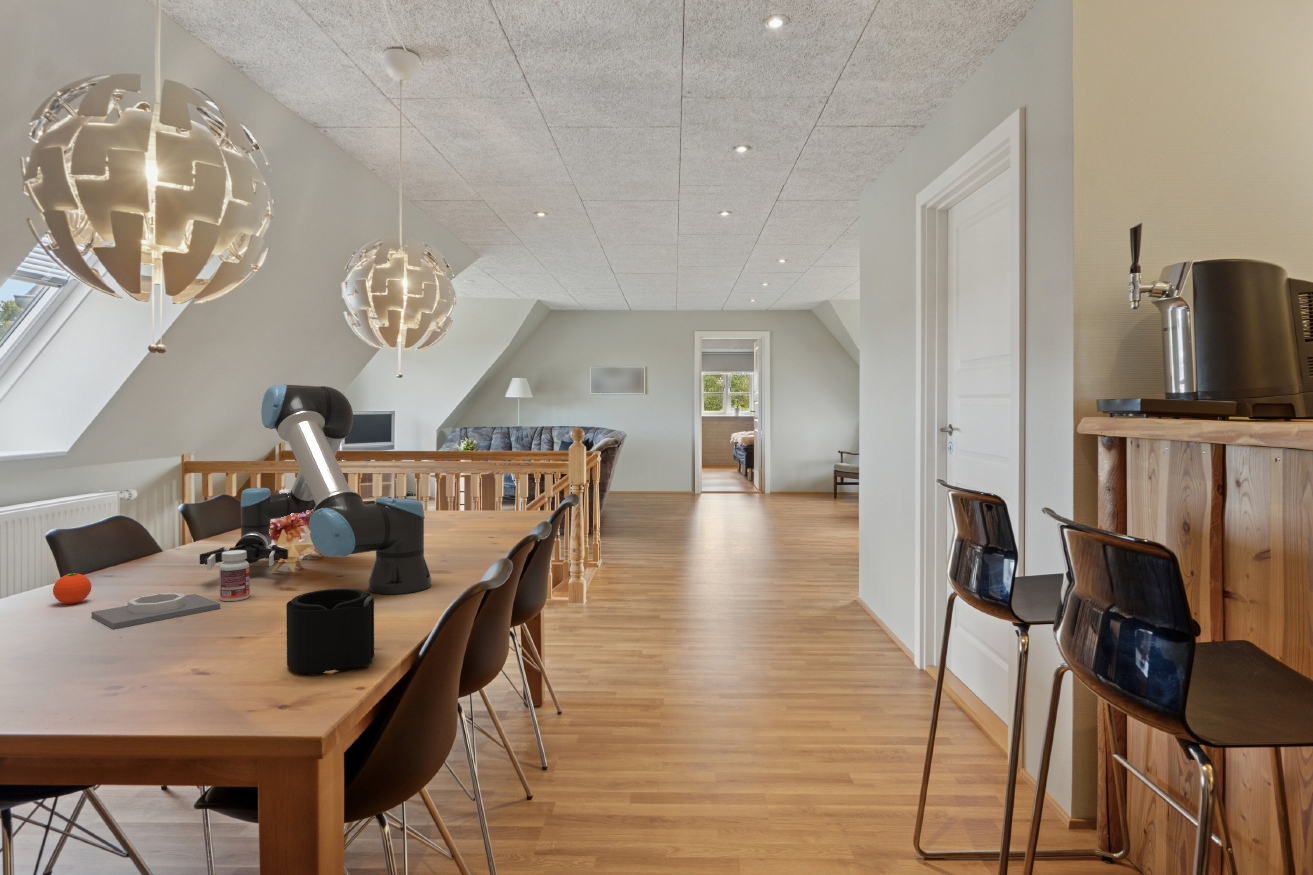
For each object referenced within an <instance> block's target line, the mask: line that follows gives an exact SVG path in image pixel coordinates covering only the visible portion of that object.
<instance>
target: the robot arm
mask: <svg viewBox="0 0 1313 875" xmlns="http://www.w3.org/2000/svg"><path fill="white" fill-rule="evenodd" d="M260 410H261V412H260V414H261V422H262V424H263V425H262V426H264V427H265V428H266V429H269V430H273V429H274V430H276V432H277V434H278V435H277V436H278V437H279V438H280V439H281V440H283V441H285V442H288V444H289V445H290V446H289V447H290V448H291V451H292V453H293V455H294V458H295V460H296V462H297V464H298V467H299V471H298V473H297V475H296V478H295V480H294V483H293V485H292V487H291V490H290V492H282V493H281V492H279V493H272V492H271V490H270V488H268V487H253V488H252V487H251V488H246V489H244V490H242V491H241V496H240V504H239V505H240V520H241V522H240V523H241V524H240V525H241V526H240V539H239V540H238V541H237V542H236V544H235V545H234V546H233V547H230V548H229V549H227V548H225V547H224V546H223V547H220V548H218V549H215V550H210V551H207V552H204V553H201V554H199V565H207V566H206V568H207V569H206V570H207V571H209V570H210V571H211V570H212V569H213V568H214V567H215V565H216V564H217V563H224V561H222V553H223V552H226V551H232V550H245V551H246V552H247V558H246V559H245V561H247V562H248V563H249V564H254V563H256V562H258V561H260V560H264V559H267V560H268V566H269V567H273V565H274V563H275V562H276V561H280V560H281V559H282V560H285V561H286V560H289V549H287V548H284V547H281V546H278V545H277V544H272V541H273V538H272V537H273V536H272V535H271V536H272V537H271V536H270V534H271V533H270V534H269V529H270V530H271V520H277V519H282V518H281V517H284V516H287V515H290V514H291V513H300V512H303V511H306V510H312V509H313V514H312V515H310V517H309V522H308V530H309V531H310V533H309V536H310V540H311V542H312V545H313V547H314V548H315V550H317V551H318V552H319V553H320V554H321V555H323V556H325V557H329V558H331V557H333V558H334V557H346V556H349V555H355V554H362V553H368V552H369V553H370V552H375V561H374V564H373V567H372V570H371V574H370V576H369V580H368V591H370V592H371V593H375V594H382V595H383V594H384V595H396V594H397V595H399V594H400V595H401V594H410V593H415V592H420V591H423V590H427V589H428V588H430V587H431V584H432V578H431V573H430V570H429V567H428V564H427V562H426V560H425V559H426V558H425V556H424V555H425V546H424V545H425V519H426V518H425V510H424V505H423V503H422V502H421V501H420V500H417V499H410V498H400V497H399V498H398V497H397V498H396V497H384V496H383V497H377V498H376V499H375V501H374V504H373V503H371V504H365V502H364V501H363V498H362V496H361V495H360V494H359V493H358V492H356V491H352V490H351V488H350V486H349V484H348V482H347V480H346V478H345V475H344V474H343V471H342V468H341V467H340V465H339V462H338V461H337V458H336V455H337V453H338V450H339V449H340V446H341V444H342V442H343V440H344V439H346V438H347V437H349V434H350V433H351V430H352V428H353V424H354V412H353V408H352V405H351V403H350V401H349V399H348V398H347V397H346V396H345V395H344V394H343V393H342V392H341V391H339V390H338V389H336V388H334V387H330V386H325V385H324V386H323V385H322V386H321V385H320V386H319V385H318V386H317V385H316V386H315V385H302V384H301V385H299V384H297V385H296V384H286V383H284V384H274V385H273V384H272V385H270V386H268V388H267V389H266V390H265V392H264V394H263V397H262V402H261V408H260ZM280 493H281V494H280ZM287 493H288V494H287ZM288 496H289V497H288ZM271 544H272V545H271ZM269 545H270V546H269ZM268 546H269V548H268Z"/></svg>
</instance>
